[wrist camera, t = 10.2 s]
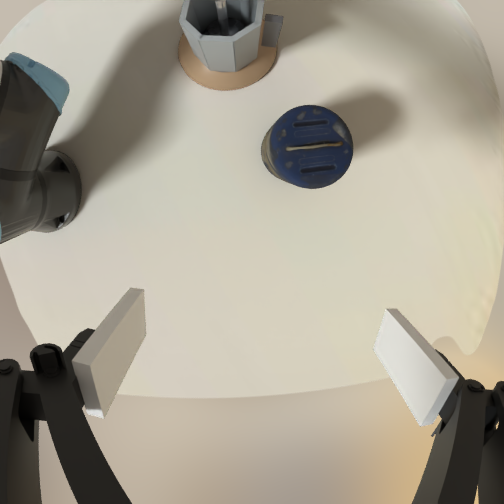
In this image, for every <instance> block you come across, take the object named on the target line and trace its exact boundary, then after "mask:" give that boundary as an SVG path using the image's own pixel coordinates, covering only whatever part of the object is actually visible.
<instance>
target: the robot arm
mask: <svg viewBox="0 0 504 504" xmlns="http://www.w3.org/2000/svg"><path fill="white" fill-rule="evenodd" d="M68 94H69V84H68V82H67V81H66V80H65V79H64V78H63V77H62V76H60V75H59V74H58V73H56V72H54V71H53V70H51V69H50V68H48V67H46V66H44V65H42V64H41V63H39V62H35V61H34V60H32V59H30V58H28V57H26V56H24V55H22V54H19V53H15V52H12V53H10V54H9V55H8V57H6V58H5V60H4V61H2V60H0V244H2V243H4V242H6V241H8V240H10V239H12V238H15V237H17V236H19V235H21V234H24V233H26V232H28V231H37V232H44V233H49V232H54V231H57V230H59V229H61V228H63V227H65V226H66V225H68V224H69V223H70V222H71V221H72V219H73V218H74V216H75V215H76V213H77V210H78V208H79V204H80V200H81V181H80V176H79V173H78V170H77V168H76V166H75V165H74V163H73V162H72V160H71V159H70V158H69V157H68V156H66V155H65V154H63V153H61V152H58V151H45V148H46V146H47V143H48V141H49V138H50V136H51V133H52V131H53V128H54V126H55V124H56V121H57V119H58V117H59V116H60V115H61V114H62V108H63V106H64V103H65V101H66V99H67V96H68ZM145 336H146V322H145V302H144V289H137V288H130V289H129V290H128V291H127V292H126V294H125V295H124V296H123V297H122V298H121V300H120V301H119V302H118V303H117V304H116V306H115V307H114V308H113V309H112V310H111V312H110V313H109V314H108V315H107V316H106V318H105V319H104V320H103V321H102V323H101V324H100V325H99V326H98V328H97V329H96V330H93V329H89V328H87V329H86V330H84V331H82V332H80V333H79V334H78V335H77V336H76V337H75V339H74V341H72V342H71V343H70V344H69V346H68V347H67V348H66V349H65V350H64V352H63V353H62V350H61V348H60V347H59V346H57V345H55V344H50V343H48V344H41V345H38V346H37V347H35V348H34V349H33V350H32V351H31V352H30V359H31V362H32V365H33V368H34V371H25V370H21V368H20V365H19V364H18V362H17V361H15V360H13V359H3V360H0V504H42V501H41V490H40V477H39V451H38V432H39V420H42V421H47V424H48V426H49V430H50V433H51V437H52V440H53V443H54V446H55V449H56V451H57V454H58V457H59V460H60V463H61V465H62V468H63V470H64V473H65V475H66V478H67V480H68V483H69V485H70V487H71V490H72V492H73V494H74V496H75V498H76V500H77V502H78V504H132V503H131V501H130V500H129V498H128V497H127V495H126V493H125V492H124V490H123V489H122V487H121V485H120V484H119V482H118V480H117V479H116V477H115V475H114V473H113V472H112V470H111V468H110V466H109V465H108V463H107V461H106V459H105V457H104V455H103V453H102V451H101V449H100V447H99V445H98V443H97V441H96V440H95V437H94V435H93V433H92V431H91V429H90V426H89V424H88V422H87V420H86V417H85V415H84V413H83V410H82V407H83V406H84V405H85V408H86V411H87V413H88V414H90V415H93V416H97V417H100V418H105V416H106V414H107V412H108V410H109V408H110V406H111V404H112V401H113V399H114V397H115V395H116V393H117V391H118V389H119V387H120V385H121V383H122V381H123V379H124V377H125V375H126V373H127V371H128V369H129V367H130V365H131V363H132V361H133V359H134V357H135V355H136V353H137V351H138V349H139V347H140V346H141V344H142V342H143V340H144V338H145ZM373 350H374V352H375V353H376V355H377V357H378V358H379V360H380V361H381V363H382V365H383V366H384V368H385V369H386V371H387V373H388V374H389V376H390V377H391V379H392V380H393V382H394V384H395V386H396V387H397V389H398V390H399V392H400V394H401V395H402V397H403V399H404V400H405V402H406V404H407V405H408V407H409V409H410V410H411V412H412V414H413V415H414V417H415V419H416V421H417V422H418V424H419V426H425V425H430V424H433V422H434V421H435V419H436V417H437V416H438V414H439V415H440V417H441V418H442V420H441V421H440V423H439V425H438V426H437V428H436V429H435V431H434V432H433V434H432V435H431V436H432V437H433V436H434V434H436V436H435V440H434V443H433V446H432V449H431V453H430V456H429V459H428V462H427V465H426V468H425V471H424V474H423V476H422V480H421V482H420V485H419V487H418V490H417V492H416V495H415V497H414V500H413V502H412V504H474V500H475V496H476V490H477V486H478V496H479V504H504V381H500V382H497V384H496V386H495V388H494V389H493V390H485V388H484V386H483V385H482V384H481V383H480V382H478V381H476V380H472V379H468V380H465V379H464V377H463V376H462V375H461V374H460V373H459V372H458V371H457V369H456V368H455V367H454V366H452V364H451V363H450V362H449V361H448V359H447V358H446V357H445V356H444V355H443V354H442V353H440V352H438V351H437V350H436V349H434V348H433V347H432V346H431V345H430V344H429V343H428V342H427V340H426V339H425V338H424V337H423V336H422V335H421V334H420V333H419V332H418V331H417V330H416V329H415V327H414V326H413V325H412V324H411V323H410V322H409V321H408V320H407V319H406V318H405V317H404V316H403V315H402V314H401V313H400V312H399V311H398V309H385V313H384V316H383V320H382V323H381V326H380V329H379V332H378V335H377V339H376V342H375V345H374V348H373ZM498 422H499V425H498V428H497V429H496V425H497V423H498Z"/></svg>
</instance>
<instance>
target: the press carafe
mask: <svg viewBox="0 0 504 504" xmlns="http://www.w3.org/2000/svg"><path fill="white" fill-rule="evenodd" d="M226 7H227V16H228V18H232V19H236V20H238V21H240V22H241V23H243V24H244V25H245V27H246V28H244V29H243V30H241V31H239V32H238V33H236V34H235V35H233V36H232V37H231V36H208V35H203V34H204V31H205V29H206V28H207V26H208V25H209V24H211V23H212V22H214V21H216V20H218V14H217V8H216V3H215V1H212V0H184V2H183V6H182V10H181V14H180V18H179V23H180V25H181V27H182V29H183V31H184V33H183V35H182V37H181V39H180V42H179V48H178V56H179V60H180V63H181V66H182V67H183V69H184V71H185V72H186V74H187V75H188V76H189V77H190V78H191V79H192V80H194V81H195V82H196V83H198V84H200V85H202V86H204V87H207V88H210V89H214V90H225V91H228V90H236V89H241V88H244V87H247V86H249V85H251V84H253V83H255V82H257V81H258V80H260V79H261V78H262V77H263V76H264V75H265V74H266V73H267V72H268V71H269V69H270V68H271V66H272V64H273V62H274V60H275V57H276V52H277V41H278V37H279V34H280V30H281V27H282V23H283V16H278V15H270V14H266V16H265V21H264V20H263V19H262V15H263V8H264V0H226Z"/></svg>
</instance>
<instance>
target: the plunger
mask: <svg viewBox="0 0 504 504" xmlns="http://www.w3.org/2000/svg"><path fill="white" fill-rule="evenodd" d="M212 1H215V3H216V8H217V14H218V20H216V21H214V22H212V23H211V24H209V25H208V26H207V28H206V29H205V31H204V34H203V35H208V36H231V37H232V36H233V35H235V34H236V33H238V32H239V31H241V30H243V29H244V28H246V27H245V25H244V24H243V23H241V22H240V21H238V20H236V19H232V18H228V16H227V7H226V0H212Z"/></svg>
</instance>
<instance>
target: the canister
mask: <svg viewBox="0 0 504 504" xmlns="http://www.w3.org/2000/svg"><path fill="white" fill-rule="evenodd" d="M261 155H262V160H263V162H264V164H265V166H266V168H267V169H268V170H269V172H270V173H271V174H273V175H274V176H275V177H277V178H279V179H281V180H283V181H285V182H288V183H291V184H293V185H296V186H298V187H302V188H308V189H317V188H323V187H326V186H329V185H331V184H333V183H335V182H336V181H337V180H339V179H340V178H341V177H342V176H343V175H344V174H345V172H346V171H347V169H348V168H349V166H350V163H351V160H352V156H353V141H352V136H351V134H350V131H349V129H348V127H347V125H346V124H345V123H344V121H343V120H342V119H341V118H340V117H339V116H338V115H337V114H335V113H334V112H332V111H331V110H329V109H326V108H324V107H321V106H316V105H303V106H299V107H296V108H293V109H291V110H289V111H287V112H286V113H285V114H283V115H282V116H281V117H280V118H279V119H278V120H277V121H276V122H275V123H274V124H273V126H272V127H271V128H270V129H269V131H268V132H267V133H266V136H265V137H264V139H263V142H262V146H261Z"/></svg>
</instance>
